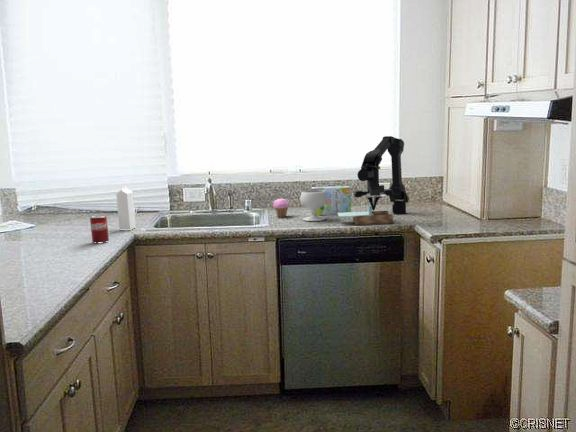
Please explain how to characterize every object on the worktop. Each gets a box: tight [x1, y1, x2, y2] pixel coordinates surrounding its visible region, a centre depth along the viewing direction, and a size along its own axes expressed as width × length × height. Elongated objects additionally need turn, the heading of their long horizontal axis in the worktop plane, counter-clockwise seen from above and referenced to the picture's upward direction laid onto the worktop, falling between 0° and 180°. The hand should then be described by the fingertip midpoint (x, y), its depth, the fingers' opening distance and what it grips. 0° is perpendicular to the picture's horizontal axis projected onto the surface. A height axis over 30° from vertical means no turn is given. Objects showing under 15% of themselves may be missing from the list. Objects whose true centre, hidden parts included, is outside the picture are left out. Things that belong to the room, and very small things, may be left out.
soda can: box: [89, 214, 110, 243], centre depth 269 cm, size 7×7×12 cm
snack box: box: [310, 185, 352, 216], centre depth 319 cm, size 21×6×15 cm, turn 84°
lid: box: [337, 204, 374, 218], centre depth 291 cm, size 17×10×4 cm, turn 91°
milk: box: [115, 185, 137, 230], centre depth 297 cm, size 6×6×22 cm
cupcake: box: [272, 198, 290, 218], centre depth 318 cm, size 9×9×10 cm
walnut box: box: [352, 210, 394, 226], centre depth 292 cm, size 18×12×5 cm, turn 91°
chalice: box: [299, 189, 327, 222], centre depth 305 cm, size 14×14×15 cm
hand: (373, 210), depth 291 cm, fingers closed
